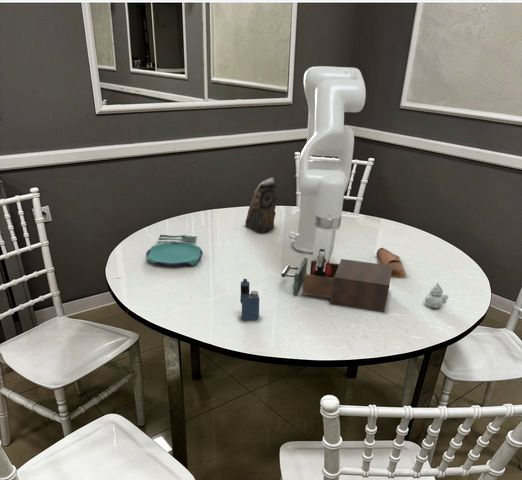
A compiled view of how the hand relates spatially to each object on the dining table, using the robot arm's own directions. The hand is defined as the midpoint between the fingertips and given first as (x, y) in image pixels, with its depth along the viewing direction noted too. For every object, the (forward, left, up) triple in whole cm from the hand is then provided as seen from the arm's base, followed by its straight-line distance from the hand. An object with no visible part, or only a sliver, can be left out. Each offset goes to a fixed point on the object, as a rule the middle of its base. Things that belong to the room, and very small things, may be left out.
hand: (321, 278), depth 146 cm
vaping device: (-9, -27, -5) cm, 29 cm away
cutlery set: (-57, -1, -5) cm, 57 cm away
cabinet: (+12, +3, -5) cm, 13 cm away
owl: (-47, +41, -5) cm, 62 cm away
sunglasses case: (+12, +33, -5) cm, 35 cm away
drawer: (-2, -1, -4) cm, 4 cm away
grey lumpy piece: (+33, +11, -5) cm, 35 cm away
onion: (0, 0, -2) cm, 2 cm away
